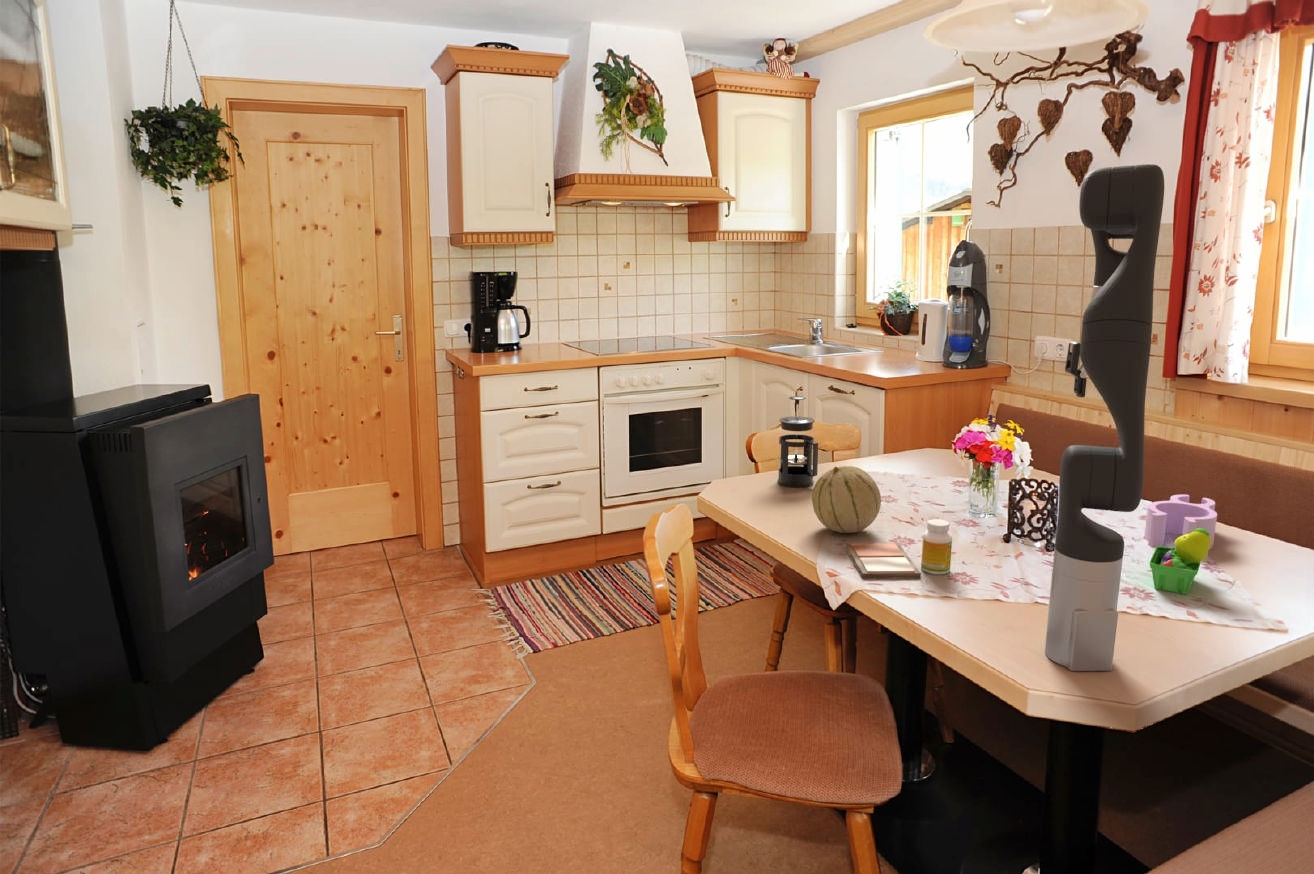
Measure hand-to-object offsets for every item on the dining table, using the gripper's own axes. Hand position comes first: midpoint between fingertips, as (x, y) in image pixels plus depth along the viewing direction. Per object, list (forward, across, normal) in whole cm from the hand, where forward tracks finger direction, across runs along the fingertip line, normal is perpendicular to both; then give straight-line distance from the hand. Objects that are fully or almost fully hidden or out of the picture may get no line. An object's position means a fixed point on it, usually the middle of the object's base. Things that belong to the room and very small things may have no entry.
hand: (1103, 396), depth 166 cm
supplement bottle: (+33, -31, -4) cm, 46 cm away
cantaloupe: (+33, -44, +19) cm, 58 cm away
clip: (+34, +26, +13) cm, 45 cm away
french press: (+33, -49, +57) cm, 82 cm away
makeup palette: (+33, -40, 0) cm, 52 cm away
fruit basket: (+33, +11, -12) cm, 37 cm away
